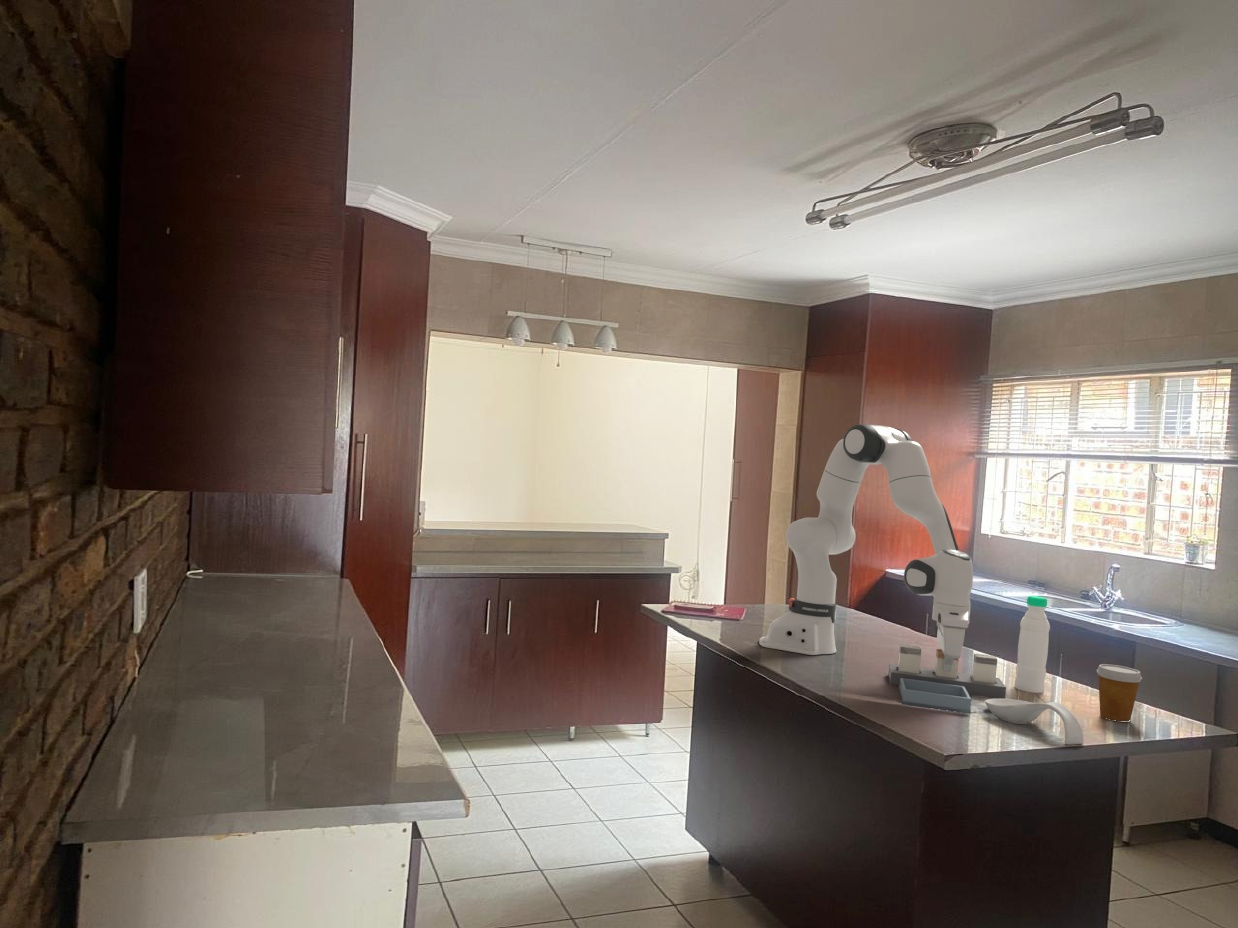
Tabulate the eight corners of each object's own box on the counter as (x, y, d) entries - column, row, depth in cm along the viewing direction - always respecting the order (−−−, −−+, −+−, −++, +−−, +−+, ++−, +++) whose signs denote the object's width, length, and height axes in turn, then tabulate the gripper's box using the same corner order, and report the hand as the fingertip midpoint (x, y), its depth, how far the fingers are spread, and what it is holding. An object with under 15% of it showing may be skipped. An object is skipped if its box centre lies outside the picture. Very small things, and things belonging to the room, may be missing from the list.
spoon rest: (972, 712, 210) (975, 682, 210) (1011, 711, 214) (1014, 681, 214) (1055, 747, 188) (1059, 713, 188) (1097, 744, 192) (1100, 711, 192)
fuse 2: (972, 692, 225) (976, 656, 225) (970, 688, 228) (973, 653, 228) (994, 695, 224) (997, 659, 223) (991, 691, 227) (995, 656, 227)
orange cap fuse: (934, 686, 227) (938, 651, 227) (933, 683, 230) (936, 648, 230) (955, 689, 226) (959, 654, 226) (954, 686, 229) (957, 651, 229)
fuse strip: (889, 687, 226) (891, 672, 226) (887, 678, 236) (889, 663, 236) (1004, 703, 220) (1006, 687, 220) (997, 693, 230) (999, 677, 230)
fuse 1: (897, 681, 229) (900, 646, 229) (896, 678, 232) (899, 644, 232) (918, 684, 228) (921, 649, 228) (917, 681, 231) (920, 646, 231)
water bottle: (1045, 698, 229) (1054, 600, 228) (1015, 693, 231) (1023, 596, 231) (1042, 691, 236) (1051, 596, 235) (1013, 687, 238) (1021, 593, 238)
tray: (902, 704, 211) (903, 689, 211) (898, 691, 223) (900, 677, 223) (969, 713, 208) (971, 698, 208) (963, 700, 219) (964, 686, 219)
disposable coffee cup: (1147, 724, 211) (1152, 674, 211) (1115, 725, 208) (1119, 673, 208) (1114, 712, 220) (1119, 663, 220) (1083, 712, 217) (1087, 663, 217)
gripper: (933, 606, 239) (929, 658, 239) (942, 619, 219) (937, 675, 219) (958, 609, 237) (954, 661, 237) (969, 622, 217) (964, 679, 217)
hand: (946, 668), depth 228 cm, fingers closed on orange cap fuse, 3 cm apart
